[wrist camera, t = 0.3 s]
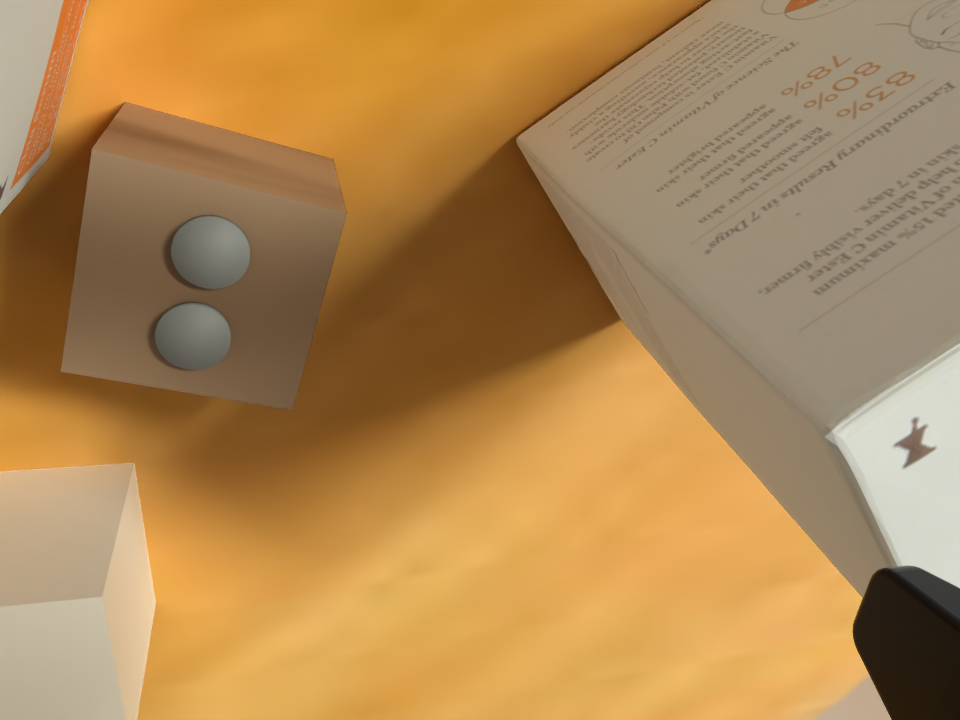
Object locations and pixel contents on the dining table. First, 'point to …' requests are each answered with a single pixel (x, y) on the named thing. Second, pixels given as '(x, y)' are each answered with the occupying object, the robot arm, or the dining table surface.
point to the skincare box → (32, 83)
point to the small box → (792, 251)
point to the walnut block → (201, 259)
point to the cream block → (73, 593)
